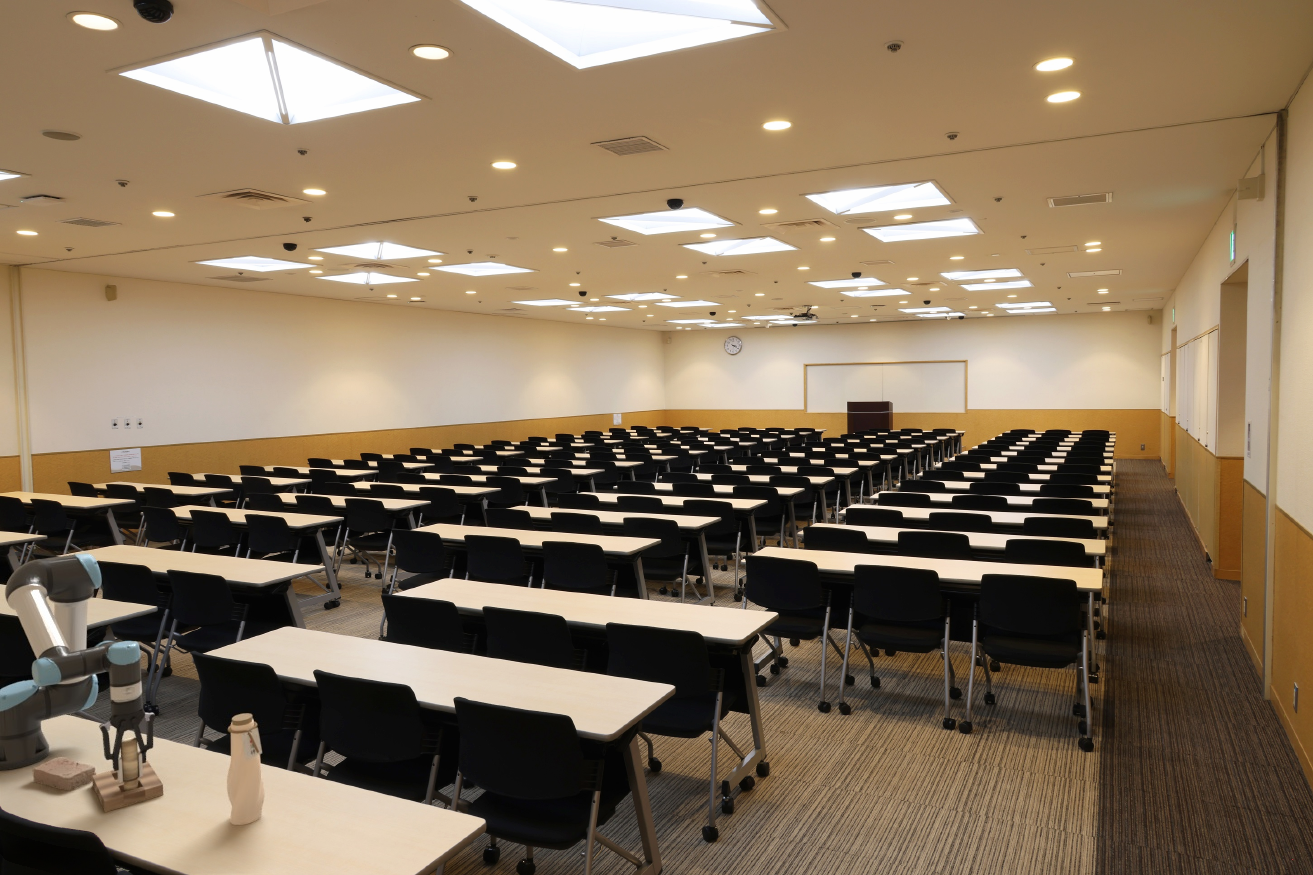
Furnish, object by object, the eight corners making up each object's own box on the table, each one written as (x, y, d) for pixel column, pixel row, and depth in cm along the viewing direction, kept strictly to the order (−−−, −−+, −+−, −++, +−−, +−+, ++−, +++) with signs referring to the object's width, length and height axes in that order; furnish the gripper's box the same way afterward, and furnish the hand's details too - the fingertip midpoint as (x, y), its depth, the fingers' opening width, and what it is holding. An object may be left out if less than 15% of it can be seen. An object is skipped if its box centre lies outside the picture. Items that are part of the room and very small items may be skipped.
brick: (98, 779, 244) (97, 764, 244) (69, 792, 236) (68, 776, 236) (61, 770, 250) (60, 755, 250) (31, 782, 242) (30, 767, 242)
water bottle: (276, 812, 224) (272, 713, 222) (249, 829, 216) (246, 726, 214) (246, 806, 228) (243, 708, 226) (220, 822, 219) (215, 721, 217)
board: (92, 785, 240) (92, 775, 239) (148, 770, 249) (147, 760, 249) (105, 811, 225) (104, 801, 225) (163, 794, 234) (162, 784, 234)
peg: (120, 787, 233) (118, 740, 232) (138, 783, 236) (135, 735, 235) (123, 793, 230) (121, 745, 229) (141, 788, 233) (138, 740, 232)
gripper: (92, 709, 223) (96, 792, 224) (164, 693, 234) (168, 772, 236) (87, 701, 228) (91, 782, 230) (158, 685, 240) (161, 763, 241)
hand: (130, 777), depth 233 cm, fingers closed on peg, 4 cm apart
